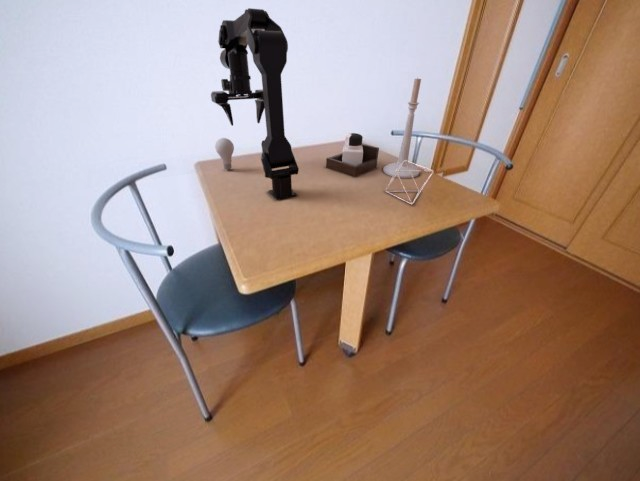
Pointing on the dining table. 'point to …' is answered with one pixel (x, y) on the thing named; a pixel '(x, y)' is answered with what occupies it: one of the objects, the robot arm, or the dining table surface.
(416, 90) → the candlestick
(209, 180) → the dining table surface
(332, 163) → the wooden holder
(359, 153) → the medicine bottle
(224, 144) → the lightbulb
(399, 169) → the geometric polyhedron
